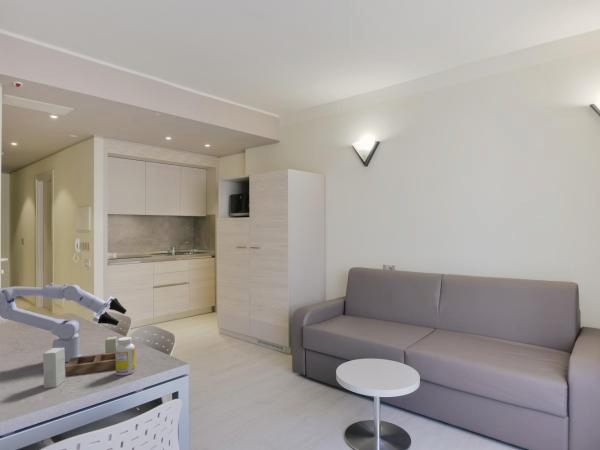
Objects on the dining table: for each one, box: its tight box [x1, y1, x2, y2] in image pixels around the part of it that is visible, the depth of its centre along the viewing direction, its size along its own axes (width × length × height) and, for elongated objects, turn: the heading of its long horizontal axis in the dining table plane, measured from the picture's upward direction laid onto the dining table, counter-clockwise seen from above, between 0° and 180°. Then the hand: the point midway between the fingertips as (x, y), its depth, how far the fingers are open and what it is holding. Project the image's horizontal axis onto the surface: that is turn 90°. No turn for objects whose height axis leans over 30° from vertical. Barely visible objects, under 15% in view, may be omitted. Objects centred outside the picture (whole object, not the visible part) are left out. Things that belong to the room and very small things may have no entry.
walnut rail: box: [65, 352, 116, 377], centre depth 150 cm, size 20×11×3 cm, turn 112°
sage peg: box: [104, 335, 118, 354], centre depth 162 cm, size 4×4×8 cm
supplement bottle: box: [115, 336, 136, 376], centre depth 143 cm, size 7×7×13 cm
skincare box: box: [42, 347, 66, 389], centre depth 133 cm, size 6×4×12 cm
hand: (121, 317), depth 165 cm, fingers open, 7 cm apart
